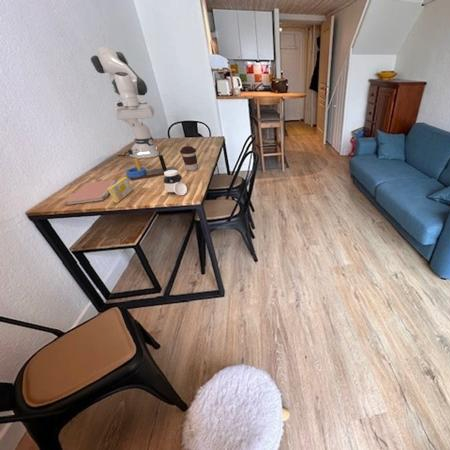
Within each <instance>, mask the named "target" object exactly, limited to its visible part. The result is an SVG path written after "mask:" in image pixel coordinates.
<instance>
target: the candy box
mask: <svg viewBox="0 0 450 450" xmlns="http://www.w3.org/2000/svg"><path fill="white" fill-rule="evenodd" d="M108 190H109V192H110V193H109V194H110V196H111V199H112V201H113V202H114V204H119V203H120V202H121V201H122V200H123V199H124V198H125V197H127V196H128V195H129V194H131V193H132V192H133V191H134V189H133V187H132V184H131V182H130V180H129V177H128V176H124V177H122V178H120V179H119V180H118V181H117V183H115V184H114V185H112V186H111V187H109V188H108Z"/></svg>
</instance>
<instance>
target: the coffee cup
mask: <svg viewBox="0 0 450 450" xmlns="http://www.w3.org/2000/svg"><path fill="white" fill-rule="evenodd" d="M179 153H180V154H181V157H182V160H183V163H184V166H185V168H186V170H187V171H190V172H191V171H196V170H198V167H199V166H198V159H197V154H196V153H197V149H196V148H195V147H193V146H191V145H187V146H183V147H181V149H180V150H179Z"/></svg>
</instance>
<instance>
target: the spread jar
mask: <svg viewBox="0 0 450 450" xmlns="http://www.w3.org/2000/svg"><path fill="white" fill-rule="evenodd" d="M163 176H164V177H163V186H164V188H165V191H166V192H167V193H168V194H171V195H177V196H184V195H185V194H187V192H188V187H187V186H186V184H185V183H184V179H183V176H182V175H181V174H179V171H178V170H177V169H175V170H168V171H165V172H164V175H163Z"/></svg>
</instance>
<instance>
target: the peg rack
mask: <svg viewBox="0 0 450 450" xmlns="http://www.w3.org/2000/svg"><path fill="white" fill-rule="evenodd" d="M158 158H159V162H160V166H161V167H160V168H156V169H149V170H146V172H147V174H146V175H144V176H141V177H135V178H130V180H131V181H136V180H142V179H147V178H153V177H154V178H155V177H159V176H165V175H164V172H165V171H168V170H176V169H175V167H174V166H168V167H167V166H166V163H165V159H164V156H163V154H159V155H158ZM133 161H134V163H135V164H134V165H135V166H136V167H137V169H138V171H140V170H142V168H141V167H142V165H141V162H140V159H139V158H135V157H134V158H133ZM136 167H135V168H136Z"/></svg>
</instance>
